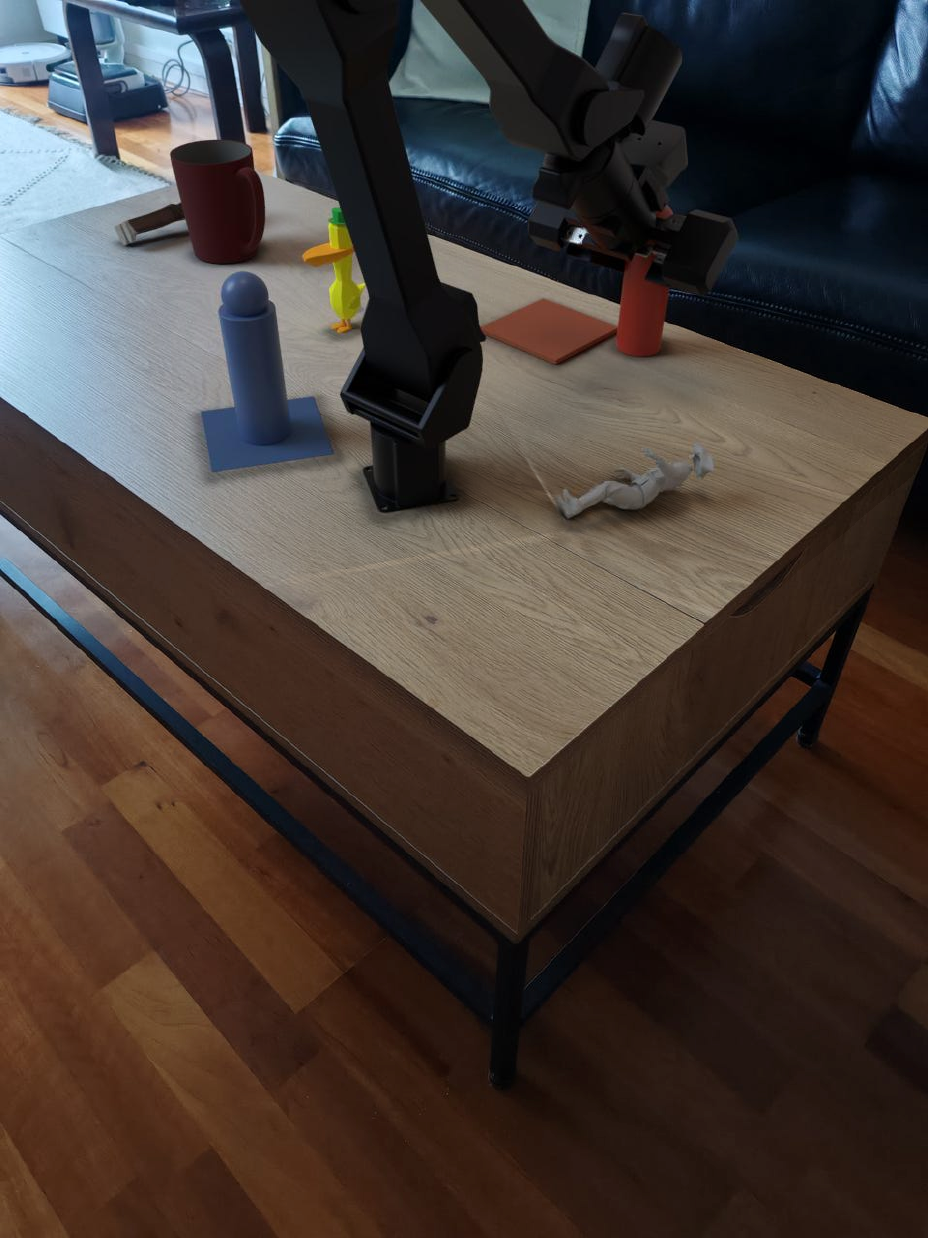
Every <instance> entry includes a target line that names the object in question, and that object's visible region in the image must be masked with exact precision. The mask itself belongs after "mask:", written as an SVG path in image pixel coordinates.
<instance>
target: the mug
mask: <svg viewBox="0 0 928 1238" xmlns="http://www.w3.org/2000/svg"><path fill="white" fill-rule="evenodd" d="M169 157H170V162H171V166H172V172H173V176H174V180H175V185H176V189H177V193H178V197H179V200H180V202H181V204H182V208H183V212H184V216H185V219H186V220H185V223H186V226H187V230H188V234H189V238H190V241H191V245H192V249H193V252H194V255H195V257H196V258H197V259H198V260H200V261H202V262H206V263H210V264H235V263H239V262H243V261H246V260H249V259H251V258H254V257H255V256H256V255H257V254H258V253H259V252H260V251H259V250H260V244H261V242H262V239H263V236H264V231H265V226H266V201H265V200H266V199H265V191H264V186H263V183H262V180H261V177H260V175H259V174H258V172H257V171H256V169H255V160H254V151H253V147H252V146H251V145H250V144H248V143H245V142H242V141H238V140H234V139H233V140H232V139H203V140H196V141H192V142H191V141H190V142H187V143H183V144H180V145H178V146H176V147H174V148H173V149H172V150H171V151H170V152H169Z"/></svg>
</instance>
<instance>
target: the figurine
mask: <svg viewBox="0 0 928 1238" xmlns="http://www.w3.org/2000/svg"><path fill="white" fill-rule="evenodd" d="M181 221H186V219H185V216H184V212H183V208H182V204H181V201H180V202H177V203H176V204H175V203H170V204H168V205H166V206H164V207H161V208H159V209H157V210H154V211H151V212H148V213H145V214H142V215H139V216H137V217H133V218H130V219H127V220H123V221H122V222H121V223H117V224H116V225H114V230H115V232H116V235H117V237H118V239H119V241H120V243H121V245H123V246H128V245H129V244H130V243H132V244H133V243H134V242H135V241H136V240H137V236H138V235H141V234H145V233H149V232H151V231H155V230H159V229H162V228H164V227H167V226H170V225H171V224H173V223H176V222H181Z"/></svg>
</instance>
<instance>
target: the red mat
mask: <svg viewBox="0 0 928 1238" xmlns="http://www.w3.org/2000/svg"><path fill="white" fill-rule="evenodd" d="M480 327H481V330H482V332H483V333H484V335H485V336H486V337H490V338H492V339H494V340H497V341H499V342H501V343H504V344H506V345H508V346H511V347H513V348H515V349H517V350H520V351H521V352H522V351H523V352H525V353H527V354H529V355H532V356H534V357H537V358H538V359H541V360H543V361H546V362H549V363H551V364H552V365H558V364H559V363H562V362H564V361H565V360H567V359H569V358H571V357H573V356H574V355H576V354H578V353H580V352H582V351H584V350H586V349H588V348H590V347H592V346H594V345H596V344H598V343H600V342H601V341H603V340H605V339H607V338H609V337H611V336H613V335H614V334H617V329H618V325H615V324H613V323H609V322H606V321H603V320H602V319H599V318H596V317H593V316H592V315H589V314H586V313H583V312H582V311H581V312H580V311H578V310H576V309H572V308H570V307H567V306H565V305H563V304H560V303H557V302H555V301H552V300H550V299H547V298H544V297H543V298H541V299H538V300H536V301H534V302H532V303H530V304H528V305H525V306H524V307H522V308H519V309H517V310H515V311H513V312H511V313H509V314H507V315H504V316H502V317H500V318H498V319H495V320H493V321H492V322H489V323H487V324H484V325H483V326H480Z"/></svg>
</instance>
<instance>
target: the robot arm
mask: <svg viewBox="0 0 928 1238" xmlns="http://www.w3.org/2000/svg"><path fill="white" fill-rule="evenodd" d="M238 1H239V4H240V5H241V7H242V9H243V11H244V13H245V15H246V18H247V19H248V21H249V23H250V25H251V27H252V29H253V31H254V33H255V35H256V36H257V39H258V40H259V43H260V44H261V45H262V46H263V47H264V48H265V50H266V51H267V52H268V54H269V55H270V56H271V57H272V58H273V59H274V60H275V62H276V63H277V64H278V66H279V67H280V69H282V70H283V72H285V74H286V75H287V76H288V77H289V79H290V80H291V81H292V82H293V83H294V84H295V86H296V87H297V88H298V90H299V92H300V93H301V95H302V97H303V99H304V102H305V105H306V108H307V111H308V114H309V117H310V120H311V124H312V127H313V130H314V133H315V136H316V138H317V141H318V145H319V148H320V150H321V154H322V156H323V159H324V160H323V161H324V163H325V166H326V168H327V172H328V174H329V177H330V181H331V184H332V186H333V187H332V188H333V190H334V193H335V196H336V200H337V202H338V205H339V207H340V208H341V211H342V215H343V218H344V221H345V224H346V227H347V230H348V233H349V236H350V239H351V242H352V245H353V248H354V251H355V252H354V254H355V257H356V260H357V263H358V266H359V269H360V272H361V275H362V277H363V278H362V279H363V281H364V283H365V284H366V285H365V287H366V291H367V294H368V301H367V302H366V303H367V304H366V307H365V310H364V313H363V316H362V318H361V322H360V326H359V327H360V328H359V329H360V335H361V340H362V346H363V347H362V349H361V351H360V353H359V355H358V357H357V359H356V361H355V362H354V365H353V366H352V368H351V370H350V372H349V374H348V376H347V378H346V380H345V381H344V384H343V386H342V388H341V390H340V392H339V397H340V399H341V401H342V404H343V406H344V409H345V410H346V412H347V413H348V414H350V415H352V416H357V417H359V418H361V419H364V420H365V421H368V422H369V427H370V428H369V429H370V441H371V442H370V443H371V444H370V445H371V456H372V457H371V458H372V465H366V466H364V467H363V468H362V474H363V476H364V478H365V481H366V483H367V487H368V489H369V492H370V494H371V496H372V499H373V503H374V504H375V506H376V509H377V512H379V513H382V514H386V513H392V512H398V511H399V512H400V511H406V510H410V509H417V508H423V507H430V506H435V505H441V504H447V503H453V502H457V501H459V500H460V494H459V492H458V491H457V488H456V486H455V484H454V482H453V481H452V480H453V479H452V478H451V476H450V474H449V472H448V470H447V454H446V453H447V448H446V446H447V443H446V442H447V441H449V440H450V439H452V438H454V437H455V436H457V435H458V434H461V433H462V432H463V431H465V430H467V429H468V428H469V426H470V425H471V420H472V416H473V412H474V408H475V404H476V400H477V396H478V391H479V388H480V383H481V379H482V374H483V368H484V367H483V365H484V353H483V347H482V346H483V345H482V344H481V343H483V342H485V341H486V340H487V335H485V334H484V333H483V332H482V330H481V327H482V326H481V325H480V320H479V308H478V303H477V300H476V298H475V296H474V294H473V292H471V291H469V290H465V289H462V288H459V287H456V286H454V285H451V284H449V283H446V282H443V281H441V280H440V278H439V274H438V270H437V266H436V262H435V259H434V255H433V251H432V248H431V247H432V246H431V242H430V238H429V235H428V232H427V228H426V224H425V219H424V215H423V211H422V208H421V203H420V199H419V196H418V192H417V187H416V184H415V180H414V176H413V173H412V168H411V165H410V161H409V157H408V153H407V150H406V145H405V144H406V143H405V141H404V137H403V133H402V129H401V125H400V121H399V117H398V112H397V110H396V105H395V101H394V98H393V94H392V90H391V86H390V82H389V78H388V70H387V68H388V64H389V61H390V56H391V53H392V49H393V46H394V42H395V39H396V34H397V31H398V27H399V23H400V11H399V3H402V2H404V1H406V0H238ZM419 1H420V2H421V4H422V5H423V6H424V8H426V10H427V11H428V12H429V13H430V14H431V16H433V18H434V19H435V21H436V22H437V23H438V25H440V27H441V28H442V29H443V30H444V31H445V33H446V34H447V35H448V36H449V38H450V39H451V40H452V41H453V43H455V45H456V47H458V49H459V50H460V51H461V52H462V54H463V55H464V56H465V57H466V58H467V59H468V60H469V62H470V63H471V64H472V66H473V67H474V68H475V69H476V71H478V73H479V74H480V75H481V77H482V78H483V79H484V81H485V82H486V84H487V87H488V89H489V100H488V106H489V111H490V112H491V114H492V116H493V117H494V120H495V121H496V124H497V125H498V127H499V128H500V130H501V133H502V134H503V136H504V138H505V139H506V140H507V141H508V143H510V144H512V145H513V146H516V147H520V148H524V149H528V150H532V151H536V152H539V153H543V154H545V155H544V158H543V163H542V166H540V167H539V168H538V175H537V177H536V179H535V181H534V183H533V186H532V192H531V198H532V200H533V201H535V202H536V203H535V205H534V207H533V209H532V211H531V212H530V214H529V216H528V218H527V235H528V236H529V237H530V238H531V239H532V241H533V242H534V243H535V245H537V246H540V247H543V248H547V249H550V250H553V251H556V252H560V251H561V250H563V248H564V246H565V242H567V243H568V245H567V247H566V251H565V252H566V254H567V255H568V256H569V257H571V258H573V259H577V260H581V261H584V262H587V263H590V264H593V265H596V266H598V267H602V268H606V269H609V270H612V271H615V272H618V273H621V274H624V269H625V261H626V260H627V261H630V262H631V261H632V259H633V257H634V255H635V254H636V255H639V256H642V257H645V258H648V257H650V256H651V254H652V252H653V254H654V255H656V257H655V258H654V260H653V262H652V264H651V266H650V268H649V270H648V272H647V274H646V276H645V277H644V280H646V281H649V282H652V283H655V284H659V285H662V286H665V287H668V288H669V289H672V290H675V289H676V290H679V291H682V292H686V293H689V294H692V295H695V296H699V297H703V296H705V295H707V294H709V293H711V292H712V289H713V288H714V286H715V283H716V282H717V279H718V278H719V276H720V274H721V272H722V270H723V268H724V267H725V264H726V263H727V261H728V259H729V257H730V255H731V253H732V251H733V250H734V248H735V246H736V245H737V243H738V241H739V238H740V237H739V235H738V231H737V229H736V226H735V224H734V221H733V219H732V218H731V217H727V216H724V215H720V214H716V213H712V212H708V211H704V210H701V209H698V208H697V209H694V210H692V211H690V212H688V213H687V214H686V216H685V215H682V214H678V213H673V214H672V215H670V216H669V217H667V218H666V219H663V218H659V217H656V216H655V215H656V213H657V211H659V212H663V210H664V209H665V207H666V205H667V206H668V203H669V201H670V198H669V195H668V193H667V191H666V190H667V189H668V188H669V187H670V186H671V185H672V183H673V182H674V181H675V180H676V178H678V176H679V175H680V174H681V172H682V171H685V170H686V168H687V167H688V165H689V158H688V149H687V135H686V130H685V128H684V127H683V126H680V125H676V124H671V123H667V122H662V121H657V120H653V119H654V118H655V117H654V116H655V115H656V113H657V111H658V109H659V107H660V105H661V103H662V101H663V100H664V97H665V96H666V94H667V91H668V90H669V88H670V86H671V84H672V83H673V81H674V78H675V77H676V75H677V73H678V71H679V69H680V67H681V65H682V63H683V62H682V61H683V55H682V54H683V53H682V51H681V49H680V46H679V45H677V44H674V42H672V40H670V39H669V38H668V37H667V35H665V34H663V33H662V32H661V31H660V30H658V29H656V28H654V27H652V26H650V25H648V22H647V20H646V17H645V15H639V14H633V13H627V12H621V13H620V15H619V17H618V19H617V21H616V23H615V25H614V27H613V29H612V31H611V35H610V38H609V40H608V41H607V44H606V46H605V48H604V50H603V51H602V54H601V56H600V57H599V59H598V61H597V63H596V64H595V67H594V65H592V64H591V63H589V62H588V61H587V60H586V59H585V58H583V57H582V56H579V55H578V54H577V53H574V52H572V51H571V50H569V49H567V48H566V47H563V46H562V45H560V44H558V43H557V42H556V41H554V40H553V39H552V38H551V37H550V36H549V35H548V34H547V33H546V31H545V30H544V28H543V26H542V25H541V23H540V22H539V21H538V19H537V18H536V16H535V15H534V13H533V12H532V10H531V9H530V8H529V6H528V4H527V3H526V2H525V0H419ZM664 230H666V231H664ZM646 245H647V246H646ZM649 247H650V248H649ZM383 508H384V509H383Z"/></svg>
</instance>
